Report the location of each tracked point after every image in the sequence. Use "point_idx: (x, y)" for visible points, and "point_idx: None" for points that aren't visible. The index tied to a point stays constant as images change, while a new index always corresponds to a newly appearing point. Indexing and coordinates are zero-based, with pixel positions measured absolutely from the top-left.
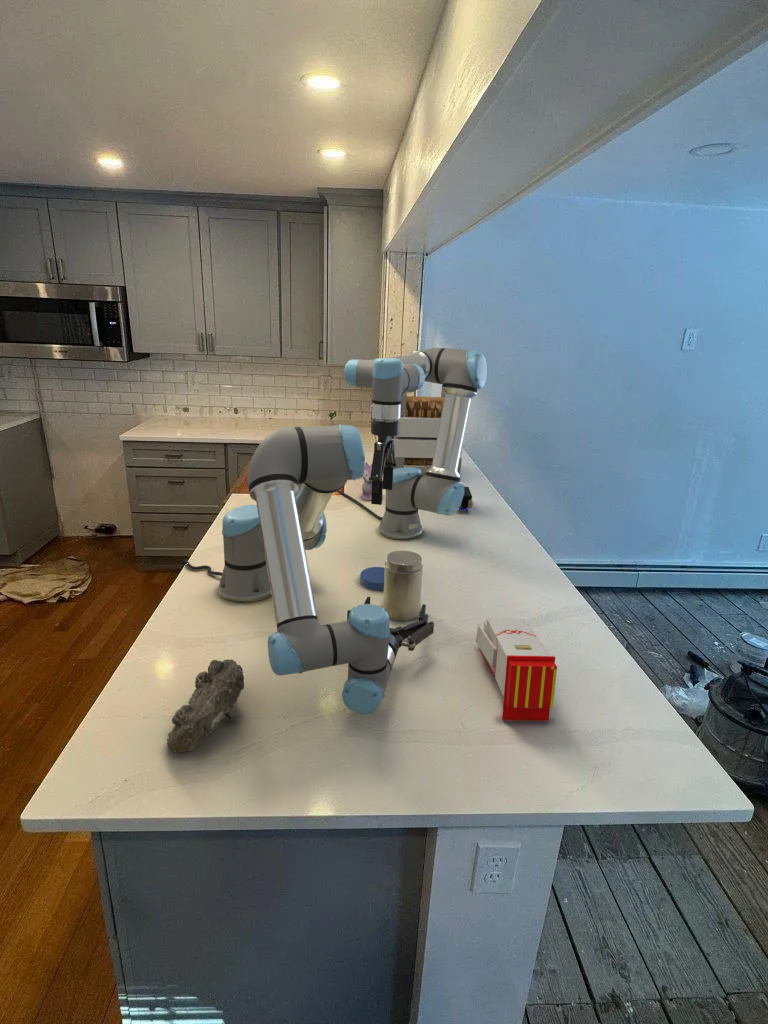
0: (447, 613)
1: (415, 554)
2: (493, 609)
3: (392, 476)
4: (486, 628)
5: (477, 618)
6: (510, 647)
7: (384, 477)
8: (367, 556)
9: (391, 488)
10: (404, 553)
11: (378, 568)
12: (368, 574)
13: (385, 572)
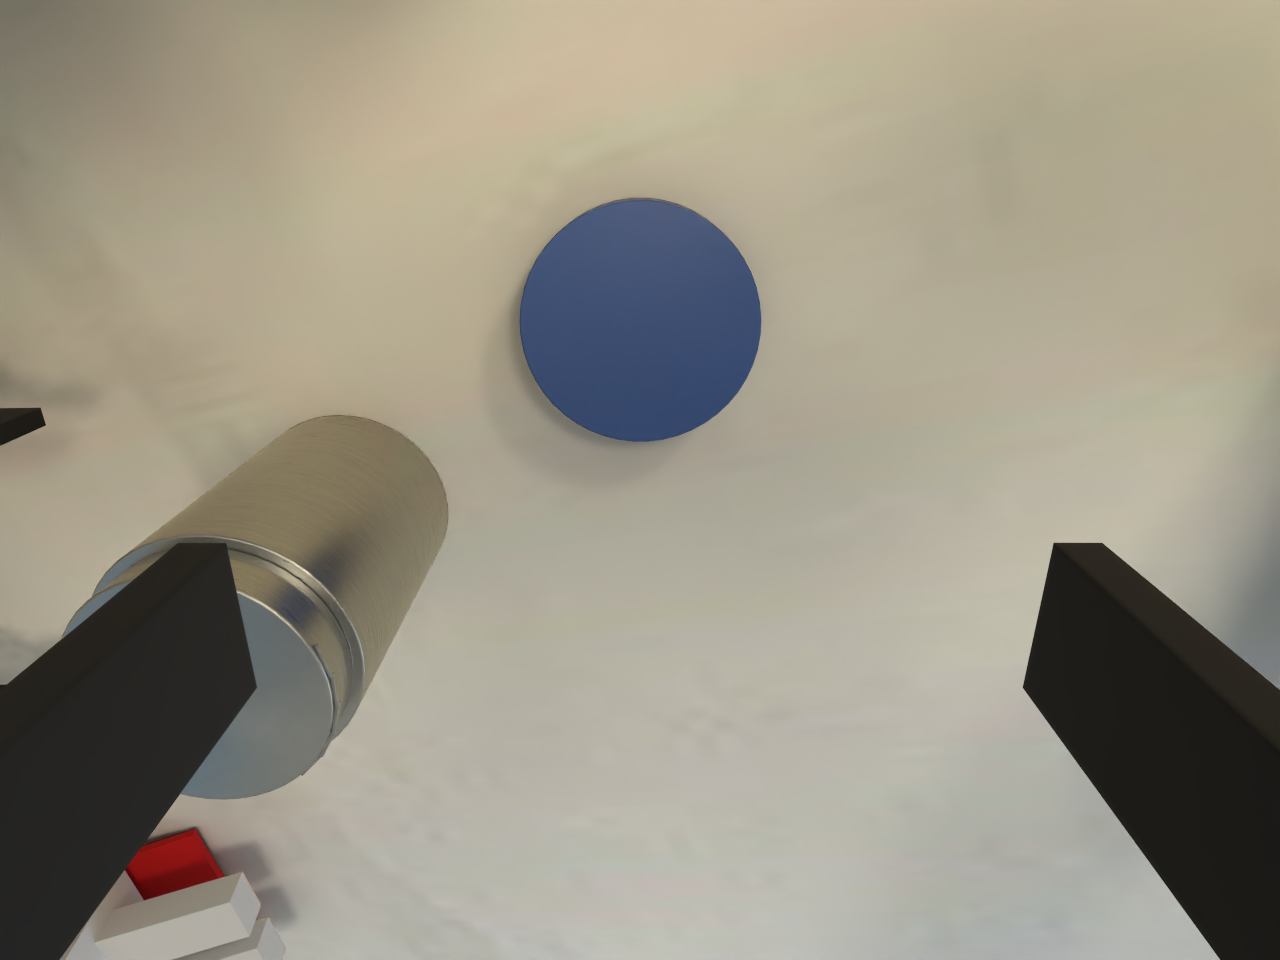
0: (424, 699)
1: (291, 753)
2: (536, 855)
3: (1174, 892)
4: (64, 954)
5: (432, 807)
6: None
7: (1193, 709)
8: (1021, 147)
9: (1038, 700)
10: (269, 683)
11: (733, 305)
12: (622, 261)
13: (159, 530)
